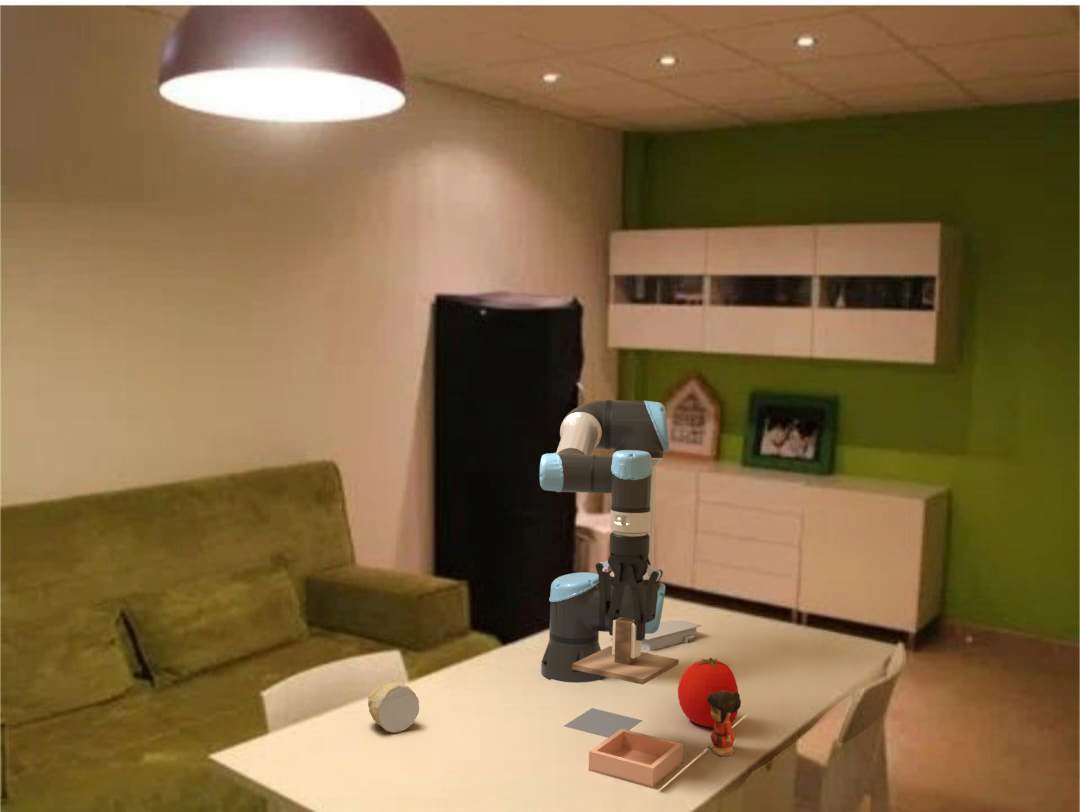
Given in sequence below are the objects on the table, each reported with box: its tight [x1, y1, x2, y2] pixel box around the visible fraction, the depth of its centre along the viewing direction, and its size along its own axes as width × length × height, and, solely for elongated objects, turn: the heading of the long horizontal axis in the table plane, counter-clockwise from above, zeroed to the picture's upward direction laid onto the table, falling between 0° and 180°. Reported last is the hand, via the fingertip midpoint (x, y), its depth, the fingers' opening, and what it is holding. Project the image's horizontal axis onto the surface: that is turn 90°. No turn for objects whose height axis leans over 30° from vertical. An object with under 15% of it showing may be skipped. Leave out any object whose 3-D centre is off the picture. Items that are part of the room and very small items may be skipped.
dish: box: [588, 729, 684, 789], centre depth 194 cm, size 13×13×4 cm
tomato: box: [677, 657, 739, 729], centre depth 215 cm, size 13×11×14 cm
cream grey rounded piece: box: [367, 681, 420, 734], centre depth 211 cm, size 10×10×10 cm
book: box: [609, 619, 703, 652], centre depth 273 cm, size 15×23×4 cm, turn 130°
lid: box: [572, 617, 679, 685], centre depth 198 cm, size 15×15×9 cm
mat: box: [563, 707, 643, 739], centre depth 214 cm, size 12×12×1 cm
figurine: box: [707, 690, 742, 757], centre depth 203 cm, size 6×6×12 cm
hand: (626, 654), depth 198 cm, fingers closed on lid, 3 cm apart
